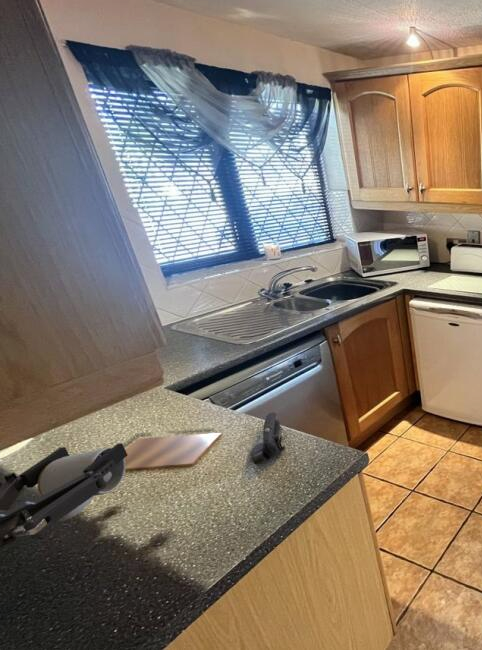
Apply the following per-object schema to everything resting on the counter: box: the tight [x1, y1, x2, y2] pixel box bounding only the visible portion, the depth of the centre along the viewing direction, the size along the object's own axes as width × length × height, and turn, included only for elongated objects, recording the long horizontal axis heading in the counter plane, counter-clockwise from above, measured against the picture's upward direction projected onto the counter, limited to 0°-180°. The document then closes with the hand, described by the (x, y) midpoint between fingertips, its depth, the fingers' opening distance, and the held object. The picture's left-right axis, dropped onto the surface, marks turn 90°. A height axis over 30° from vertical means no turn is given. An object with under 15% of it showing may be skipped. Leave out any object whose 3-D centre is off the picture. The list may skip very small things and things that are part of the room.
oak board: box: [124, 432, 223, 472], centre depth 92 cm, size 20×11×1 cm, turn 95°
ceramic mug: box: [37, 446, 126, 523], centre depth 65 cm, size 11×8×8 cm
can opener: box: [251, 412, 286, 465], centre depth 94 cm, size 18×7×6 cm, turn 26°
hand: (94, 451), depth 69 cm, fingers closed on ceramic mug, 9 cm apart
